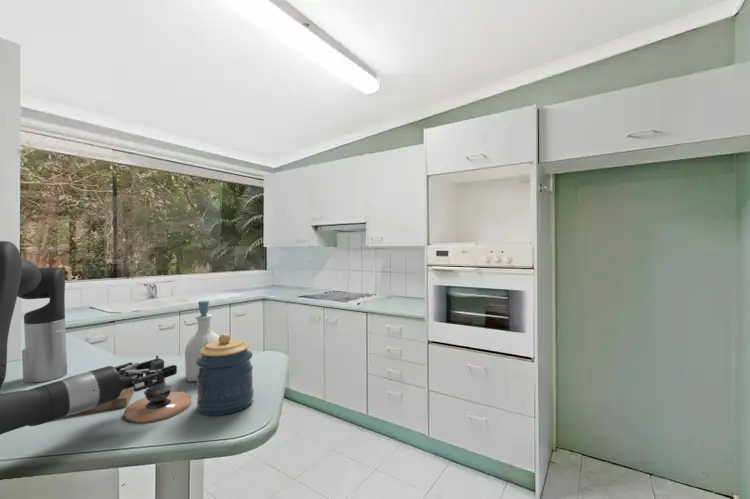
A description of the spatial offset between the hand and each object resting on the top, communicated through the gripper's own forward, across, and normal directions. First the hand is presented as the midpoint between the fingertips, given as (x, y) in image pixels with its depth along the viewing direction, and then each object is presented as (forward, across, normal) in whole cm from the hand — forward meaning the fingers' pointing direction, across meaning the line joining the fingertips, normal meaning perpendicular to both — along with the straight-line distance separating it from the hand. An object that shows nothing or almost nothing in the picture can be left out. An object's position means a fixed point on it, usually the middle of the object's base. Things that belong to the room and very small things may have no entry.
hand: (165, 366), depth 91 cm
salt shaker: (-2, 0, +9) cm, 9 cm away
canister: (+7, -13, +10) cm, 18 cm away
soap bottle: (+17, +9, +10) cm, 21 cm away
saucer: (-2, 0, +10) cm, 10 cm away
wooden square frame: (-7, +18, +10) cm, 22 cm away
